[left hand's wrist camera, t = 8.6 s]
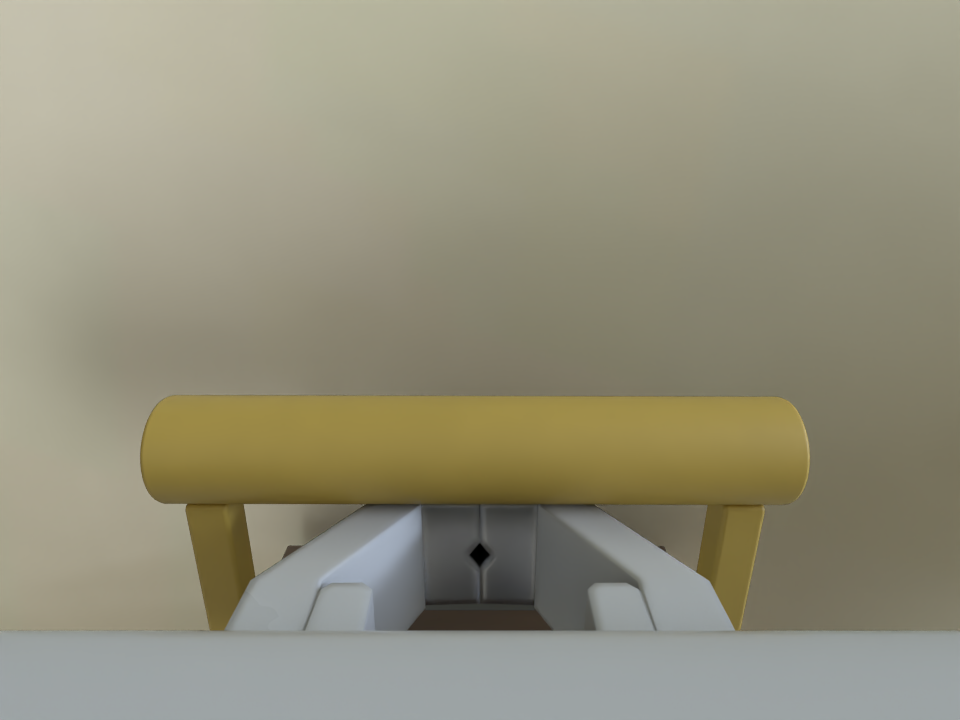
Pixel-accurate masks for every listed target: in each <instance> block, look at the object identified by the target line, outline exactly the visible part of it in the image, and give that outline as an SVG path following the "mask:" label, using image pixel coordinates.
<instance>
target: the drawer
mask: <svg viewBox="0 0 960 720" xmlns="http://www.w3.org/2000/svg"><path fill="white" fill-rule="evenodd" d="M140 464H141V472H142V477H143V481H144V484H145V487H146V489H147V491H148V492H149V494H150V495H151V496H152V497H153V498H154V499H155V500H157V501H159V502H161V503H164V504H187V505H186V515H187V520H188V525H189V530H190V535H191V540H192V545H193V549H194V554H195V559H196V564H197V569H198V574H199V579H200V584H201V589H202V594H203V598H204V603H205V608H206V613H207V618H208V623H209V628H210V631H224V630H225V628H226V626H227V624H228V622H229V620H230V618H231V616H232V614H233V613H234V611H235V609H236V607H237V605H238V603H239V601H240V599H241V597H242V596H243V594H244V592H245V590H246V588H247V586H248V584H249V582H250V580H252V579H253V578H255V572H254V566H253V560H252V553H251V547H250V541H249V535H248V529H247V523H246V516H245V510H244V504H609V505H708V506H707V512H706V518H705V524H704V530H703V536H702V542H701V548H700V555H699V561H698V567H697V573H698V574H700V575H701V576H703V577H704V578H706V579H707V580H709V581H710V583H711V585H712V587H713V589H714V591H715V593H716V594H717V596H718V598H719V600H720V602H721V604H722V606H723V608H724V610H725V612H726V614H727V616H728V618H729V619H730V621H731V623H732V625H733V627H734V629H735V631H740V629H741V625H742V620H743V615H744V610H745V605H746V600H747V596H748V591H749V586H750V581H751V576H752V571H753V567H754V562H755V557H756V552H757V547H758V542H759V538H760V533H761V528H762V523H763V518H764V513H765V508H764V506H763V505H786V504H790V503H792V502H794V501H795V500H797V499H798V498H799V496H800V495H801V494H802V492H803V490H804V488H805V486H806V483H807V479H808V474H809V466H810V450H809V442H808V437H807V432H806V429H805V426H804V423H803V421H802V418H801V416H800V414H799V413H798V411H797V410H796V408H795V407H794V406H793V405H792V404H791V403H790V402H789V401H787V400H785V399H783V398H780V397H709V396H314V395H173V396H169V397H167V398H165V399H163V400H161V401H160V402H159V403H158V404H157V405H156V406H155V408H154V409H153V411H152V412H151V414H150V416H149V418H148V420H147V423H146V425H145V429H144V432H143V437H142V442H141V452H140ZM300 547H302V546H288V547H287V549H286V552H285V554H284V556H283V558H282V559H284V558H285V557H287V556H288V555H290V554H291V553H293V552H294V551H296V550H297V549H299V548H300ZM657 547H659V548H660V549H662V550H663V551H665V552H666V550H665V547H663V546H657ZM666 553H667V552H666ZM407 631H553V630H552V629H551V628H550V626H549V625H548V624H547V623H546V621H545V620H544V619H543V618H542V617H541V615H540V614H539V613H538V612H537V610H536V609H535V608H534V605H508V604H480V603H479V604H450V605H425V609H424V610H423V612H422V613H421V614H420V615H419V616H418V618H417V619H416V620H415V621H414V623H413V624H412V625H411V626H410V627H409V629H408V630H407Z"/></svg>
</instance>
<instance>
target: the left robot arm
mask: <svg viewBox="0 0 960 720" xmlns="http://www.w3.org/2000/svg"><path fill="white" fill-rule="evenodd" d="M479 603H480V604H508V605H534V608H535V609H536V610H537V612H538V613H539V614H540V615H541V617H542V618H543V619H544V620H545V621H546V623H547V624H548V625H549V626H550V628H551V629H552V630H553V631H407V630H408V629H409V627H410V626H411V625H412V624H413V623H414V621H415V620H416V619H417V618H418V616H419V615H420V614H421V613H422V612H423V610H424V609H425V605H450V604H479ZM0 720H960V631H735V629H734V627H733V625H732V623H731V621H730V619H729V618H728V616H727V614H726V612H725V610H724V608H723V606H722V604H721V602H720V600H719V598H718V596H717V594H716V593H715V591H714V589H713V587H712V585H711V583H710V581H709V580H707V579H706V578H704V577H703V576H701V575H700V574H698V573H696V572H695V571H693V570H692V569H690V568H689V567H687V566H686V565H684V564H683V563H681V562H680V561H678V560H677V559H675V558H674V557H672V556H671V555H669V554H668V553H666V552H665V551H663V550H662V549H660V548H659V547H657V546H656V545H654V544H653V543H651V542H650V541H648V540H647V539H645V538H644V537H642V536H640V535H639V534H637V533H636V532H634V531H633V530H631V529H630V528H628V527H627V526H625V525H624V524H622V523H621V522H619V521H618V520H616V519H615V518H613V517H612V516H610V515H609V514H607V513H606V512H604V511H603V510H601V509H600V508H598V507H597V506H595V505H594V504H366V505H364V506H363V507H361V508H360V509H358V510H357V511H355V512H354V513H352V514H351V515H349V516H348V517H346V518H345V519H343V520H342V521H340V522H338V523H337V524H335V525H334V526H332V527H331V528H329V529H328V530H326V531H325V532H323V533H322V534H320V535H319V536H317V537H316V538H314V539H313V540H311V541H310V542H308V543H307V544H305V545H303V546H302V547H300V548H299V549H297V550H296V551H294V552H293V553H291V554H290V555H288V556H287V557H285V558H284V559H282V560H281V561H279V562H278V563H276V564H275V565H273V566H272V567H270V568H268V569H267V570H265V571H264V572H262V573H261V574H259V575H258V576H256V577H255V578H253V579H252V580H250V582H249V584H248V586H247V588H246V590H245V592H244V594H243V596H242V597H241V599H240V601H239V603H238V605H237V607H236V609H235V611H234V613H233V614H232V616H231V618H230V620H229V622H228V624H227V626H226V628H225V630H224V631H202V630H42V631H0Z"/></svg>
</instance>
